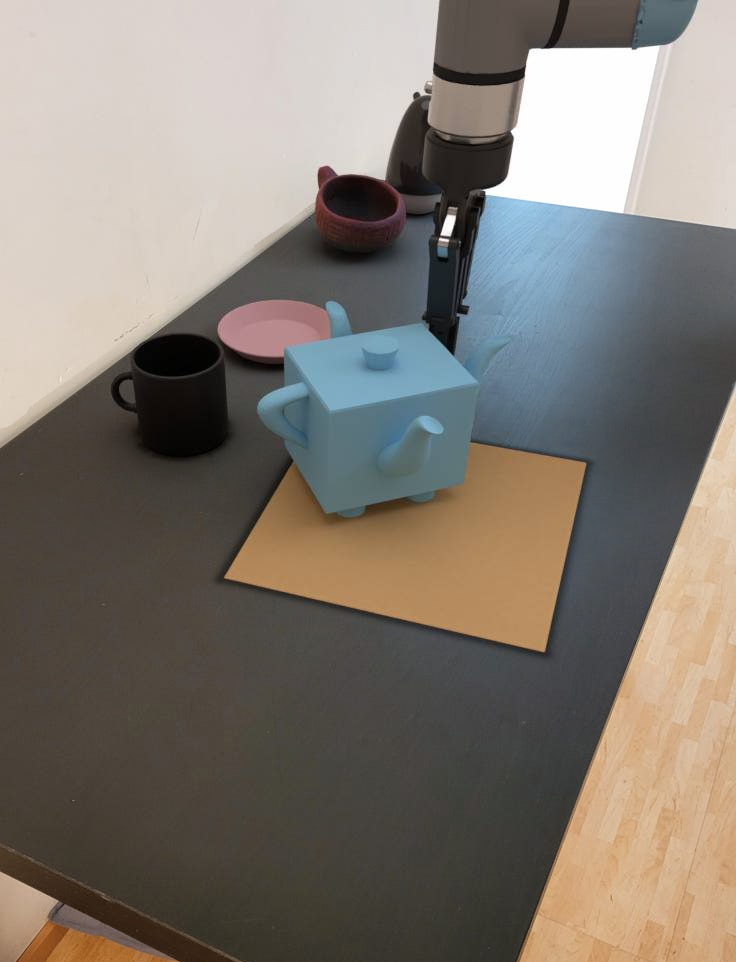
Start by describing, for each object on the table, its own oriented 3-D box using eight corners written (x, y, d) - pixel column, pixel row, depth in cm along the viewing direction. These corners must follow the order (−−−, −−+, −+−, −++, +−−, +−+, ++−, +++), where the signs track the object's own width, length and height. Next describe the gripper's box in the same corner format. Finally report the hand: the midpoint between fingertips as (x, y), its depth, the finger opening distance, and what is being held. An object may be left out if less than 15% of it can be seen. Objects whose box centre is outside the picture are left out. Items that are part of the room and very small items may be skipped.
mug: (125, 407, 104) (114, 330, 97) (233, 409, 103) (229, 332, 96) (108, 455, 97) (95, 376, 90) (223, 458, 96) (218, 379, 89)
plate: (360, 347, 112) (361, 331, 110) (262, 385, 106) (262, 369, 105) (290, 304, 120) (290, 289, 119) (195, 337, 114) (194, 321, 113)
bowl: (420, 240, 133) (426, 181, 127) (375, 273, 126) (379, 212, 120) (324, 218, 140) (325, 160, 134) (276, 248, 132) (275, 189, 127)
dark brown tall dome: (439, 192, 146) (450, 82, 135) (460, 217, 138) (474, 103, 128) (375, 198, 145) (382, 87, 134) (393, 223, 137) (402, 109, 127)
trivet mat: (586, 464, 94) (586, 462, 94) (544, 653, 76) (544, 652, 76) (320, 417, 101) (320, 415, 101) (223, 579, 83) (223, 577, 83)
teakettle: (246, 507, 90) (240, 368, 80) (325, 411, 102) (329, 279, 91) (433, 561, 84) (453, 418, 73) (495, 452, 95) (520, 316, 85)
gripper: (444, 102, 85) (417, 342, 102) (408, 149, 77) (385, 402, 94) (527, 110, 83) (485, 353, 100) (499, 159, 75) (459, 415, 92)
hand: (437, 376), depth 97 cm, fingers closed
